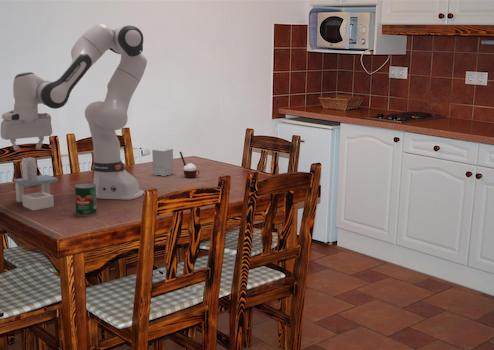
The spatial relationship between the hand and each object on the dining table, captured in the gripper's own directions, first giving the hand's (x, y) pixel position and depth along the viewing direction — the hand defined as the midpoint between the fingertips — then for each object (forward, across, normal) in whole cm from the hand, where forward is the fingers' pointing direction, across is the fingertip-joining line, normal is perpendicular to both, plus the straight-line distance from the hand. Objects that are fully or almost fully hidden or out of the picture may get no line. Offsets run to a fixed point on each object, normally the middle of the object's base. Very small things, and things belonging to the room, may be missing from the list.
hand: (27, 148), depth 263 cm
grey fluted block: (+21, -72, -8) cm, 75 cm away
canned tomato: (+22, -9, +29) cm, 38 cm away
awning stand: (+22, -3, +3) cm, 22 cm away
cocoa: (+21, -78, +5) cm, 81 cm away
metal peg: (+13, 0, 0) cm, 13 cm away
